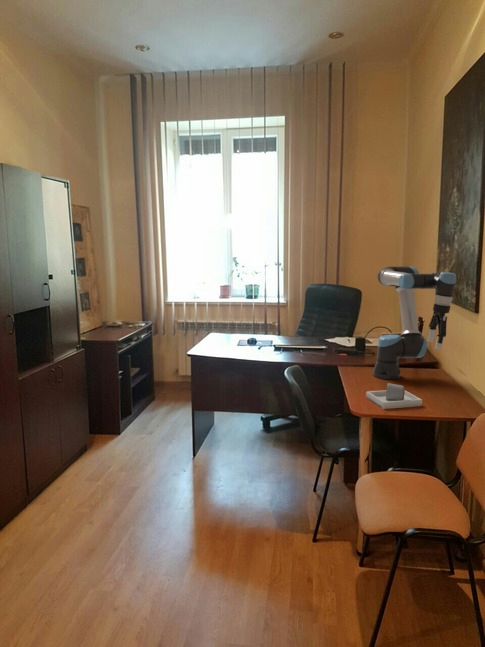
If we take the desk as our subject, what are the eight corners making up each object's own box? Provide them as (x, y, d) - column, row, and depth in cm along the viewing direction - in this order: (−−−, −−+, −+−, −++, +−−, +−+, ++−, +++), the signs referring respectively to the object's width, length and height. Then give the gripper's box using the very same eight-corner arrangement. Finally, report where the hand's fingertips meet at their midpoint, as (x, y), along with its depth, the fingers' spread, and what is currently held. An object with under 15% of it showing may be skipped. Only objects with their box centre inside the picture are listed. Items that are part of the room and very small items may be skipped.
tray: (365, 397, 226) (366, 391, 226) (402, 394, 231) (402, 389, 230) (383, 408, 211) (383, 402, 210) (421, 405, 215) (422, 399, 215)
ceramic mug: (404, 403, 216) (405, 387, 215) (385, 401, 218) (387, 385, 217) (402, 396, 226) (403, 381, 225) (385, 394, 228) (386, 379, 227)
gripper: (458, 309, 213) (449, 353, 218) (442, 300, 237) (434, 340, 242) (442, 308, 214) (433, 351, 219) (427, 298, 238) (420, 338, 243)
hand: (434, 345), depth 230 cm, fingers open, 13 cm apart
